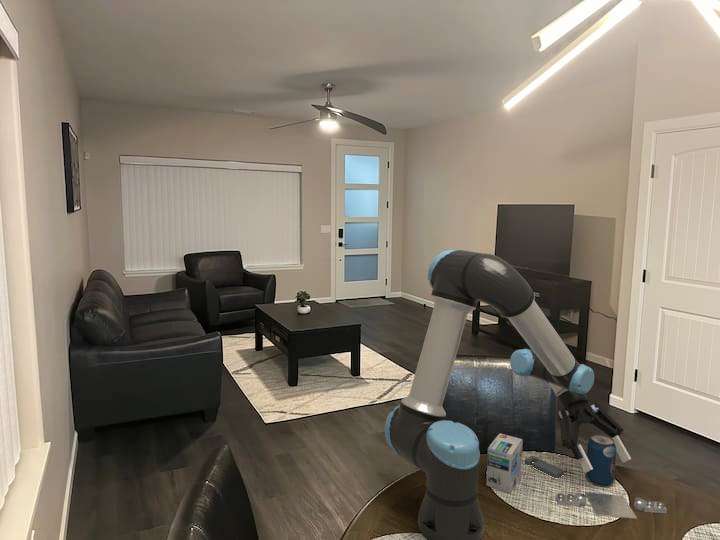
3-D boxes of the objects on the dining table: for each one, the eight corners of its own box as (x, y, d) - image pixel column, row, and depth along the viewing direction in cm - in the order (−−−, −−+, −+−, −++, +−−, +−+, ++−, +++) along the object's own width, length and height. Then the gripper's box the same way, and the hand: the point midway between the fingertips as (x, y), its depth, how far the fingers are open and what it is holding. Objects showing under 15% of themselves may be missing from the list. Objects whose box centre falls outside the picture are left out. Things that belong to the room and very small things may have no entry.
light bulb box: (510, 494, 131) (512, 454, 130) (485, 486, 135) (486, 447, 133) (521, 475, 140) (523, 438, 139) (497, 468, 144) (499, 432, 142)
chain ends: (561, 512, 123) (562, 504, 123) (553, 491, 132) (553, 483, 132) (672, 521, 120) (673, 513, 120) (655, 499, 129) (656, 491, 129)
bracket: (556, 481, 138) (556, 474, 138) (523, 465, 146) (523, 458, 146) (564, 476, 140) (564, 470, 140) (531, 461, 148) (532, 454, 148)
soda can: (617, 489, 133) (620, 446, 132) (589, 486, 134) (592, 444, 133) (608, 475, 140) (611, 434, 138) (582, 473, 141) (585, 432, 140)
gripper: (593, 391, 154) (632, 461, 142) (527, 403, 145) (563, 479, 133) (609, 380, 148) (651, 452, 137) (541, 392, 139) (580, 470, 127)
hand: (608, 465), depth 135 cm, fingers open, 13 cm apart
